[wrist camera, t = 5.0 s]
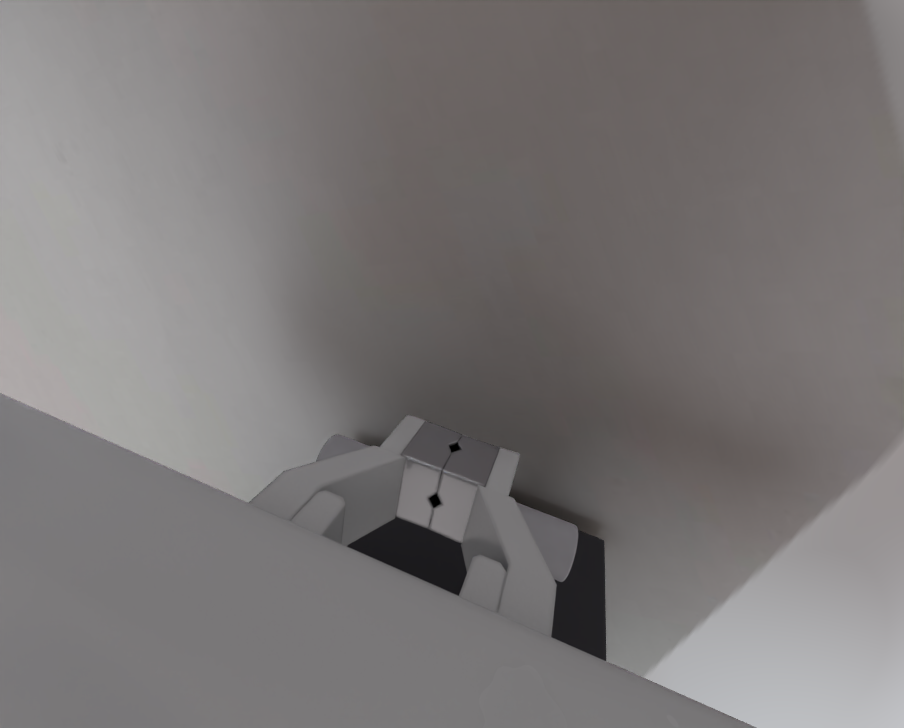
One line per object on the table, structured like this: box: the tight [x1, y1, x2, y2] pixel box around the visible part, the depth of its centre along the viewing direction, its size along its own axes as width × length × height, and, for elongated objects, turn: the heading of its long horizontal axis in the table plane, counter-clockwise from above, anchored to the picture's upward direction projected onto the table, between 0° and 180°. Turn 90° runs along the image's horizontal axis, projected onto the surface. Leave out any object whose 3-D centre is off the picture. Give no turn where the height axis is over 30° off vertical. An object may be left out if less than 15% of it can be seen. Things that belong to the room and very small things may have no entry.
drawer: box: [316, 435, 606, 661], centre depth 15 cm, size 17×11×8 cm
